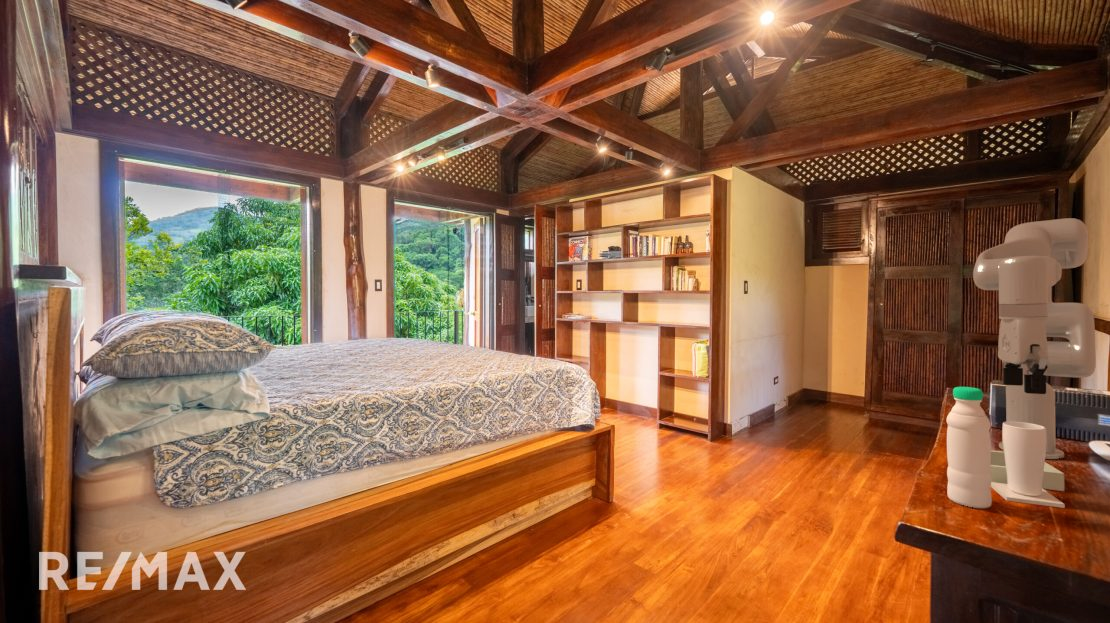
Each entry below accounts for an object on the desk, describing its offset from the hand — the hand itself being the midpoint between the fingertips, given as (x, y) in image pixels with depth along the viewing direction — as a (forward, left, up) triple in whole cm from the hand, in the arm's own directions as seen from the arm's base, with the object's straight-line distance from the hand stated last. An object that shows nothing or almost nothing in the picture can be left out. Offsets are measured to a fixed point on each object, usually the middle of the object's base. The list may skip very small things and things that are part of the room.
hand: (1023, 389), depth 99 cm
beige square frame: (-13, +2, -24) cm, 27 cm away
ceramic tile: (0, 0, -24) cm, 24 cm away
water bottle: (+9, -12, -24) cm, 28 cm away
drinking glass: (0, 0, -23) cm, 23 cm away
